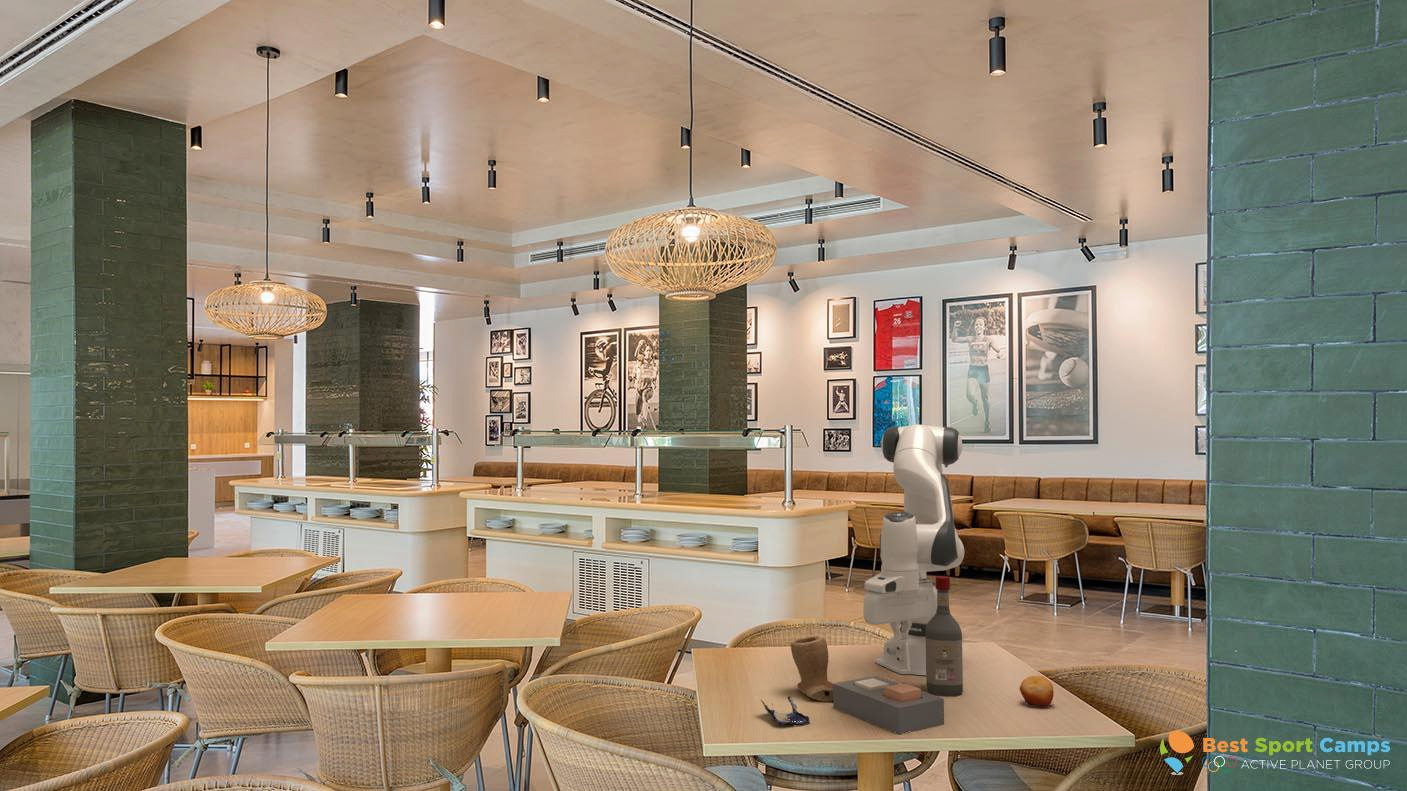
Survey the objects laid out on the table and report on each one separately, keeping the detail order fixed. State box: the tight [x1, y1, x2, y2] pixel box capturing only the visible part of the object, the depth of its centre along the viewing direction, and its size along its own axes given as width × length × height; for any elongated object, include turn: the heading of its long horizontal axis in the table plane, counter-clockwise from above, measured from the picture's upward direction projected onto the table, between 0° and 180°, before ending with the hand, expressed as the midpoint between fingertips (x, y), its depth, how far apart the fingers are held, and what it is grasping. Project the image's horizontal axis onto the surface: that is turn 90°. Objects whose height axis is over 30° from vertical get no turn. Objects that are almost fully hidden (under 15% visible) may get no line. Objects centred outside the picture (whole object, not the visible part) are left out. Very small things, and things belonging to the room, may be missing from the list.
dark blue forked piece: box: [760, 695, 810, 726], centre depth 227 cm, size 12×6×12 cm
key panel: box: [832, 675, 945, 735], centre depth 230 cm, size 24×14×6 cm, turn 31°
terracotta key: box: [884, 682, 922, 702], centre depth 226 cm, size 6×6×3 cm
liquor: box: [925, 575, 964, 697], centre depth 251 cm, size 9×9×30 cm
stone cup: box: [790, 635, 834, 702], centre depth 248 cm, size 15×12×15 cm
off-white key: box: [855, 678, 889, 691], centre depth 235 cm, size 6×6×3 cm
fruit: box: [1018, 675, 1055, 708], centre depth 239 cm, size 8×8×8 cm
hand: (901, 639), depth 226 cm, fingers closed
